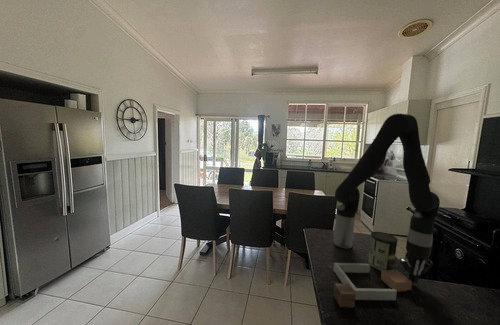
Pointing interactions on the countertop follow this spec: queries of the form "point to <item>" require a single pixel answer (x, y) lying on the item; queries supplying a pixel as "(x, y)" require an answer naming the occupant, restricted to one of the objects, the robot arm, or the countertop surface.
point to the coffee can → (382, 251)
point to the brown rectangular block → (396, 280)
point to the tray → (362, 292)
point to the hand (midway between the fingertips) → (413, 282)
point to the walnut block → (344, 295)
